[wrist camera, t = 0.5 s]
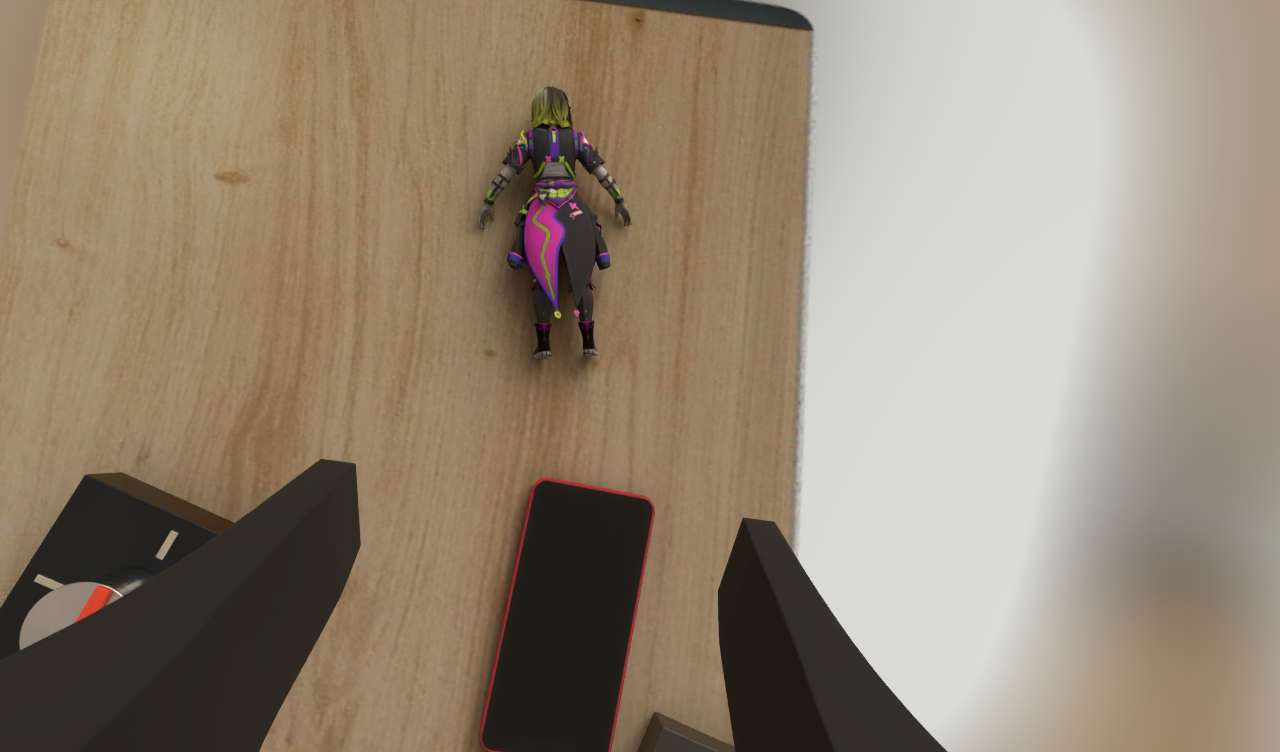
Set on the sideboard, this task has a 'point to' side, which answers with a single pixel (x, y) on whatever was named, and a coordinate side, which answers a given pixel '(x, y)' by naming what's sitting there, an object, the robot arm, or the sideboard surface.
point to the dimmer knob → (78, 602)
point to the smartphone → (568, 620)
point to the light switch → (678, 738)
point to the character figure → (556, 214)
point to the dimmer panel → (107, 541)
